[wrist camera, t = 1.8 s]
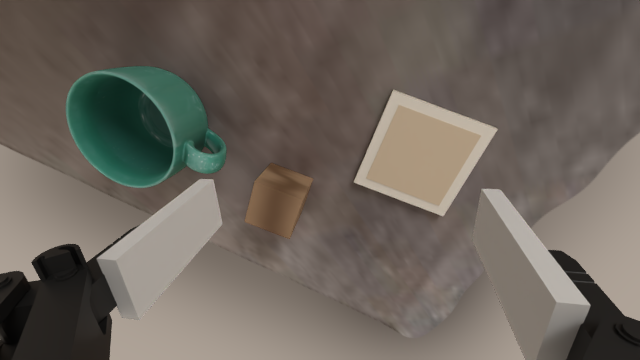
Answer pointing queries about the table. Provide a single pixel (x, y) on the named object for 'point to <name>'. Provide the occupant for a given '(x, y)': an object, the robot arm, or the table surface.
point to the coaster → (422, 152)
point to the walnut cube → (278, 200)
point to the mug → (141, 125)
